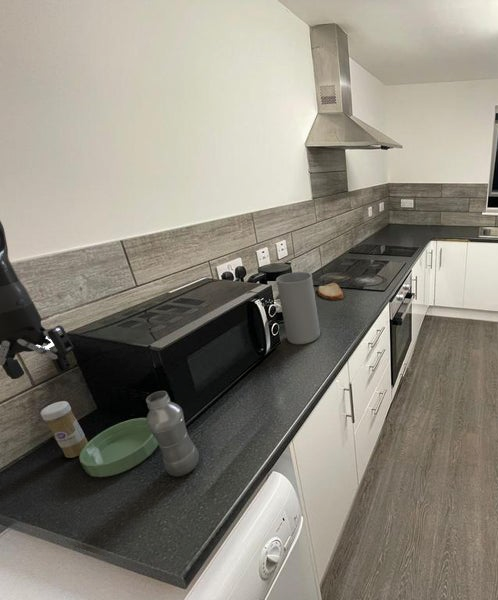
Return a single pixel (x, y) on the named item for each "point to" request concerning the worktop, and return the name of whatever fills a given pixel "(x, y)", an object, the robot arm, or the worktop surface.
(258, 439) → the worktop surface
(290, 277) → the cylinder vase
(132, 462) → the bowl
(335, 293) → the slice of bread
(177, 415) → the plastic bottle
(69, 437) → the sprinkles bottle
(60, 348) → the robot arm
